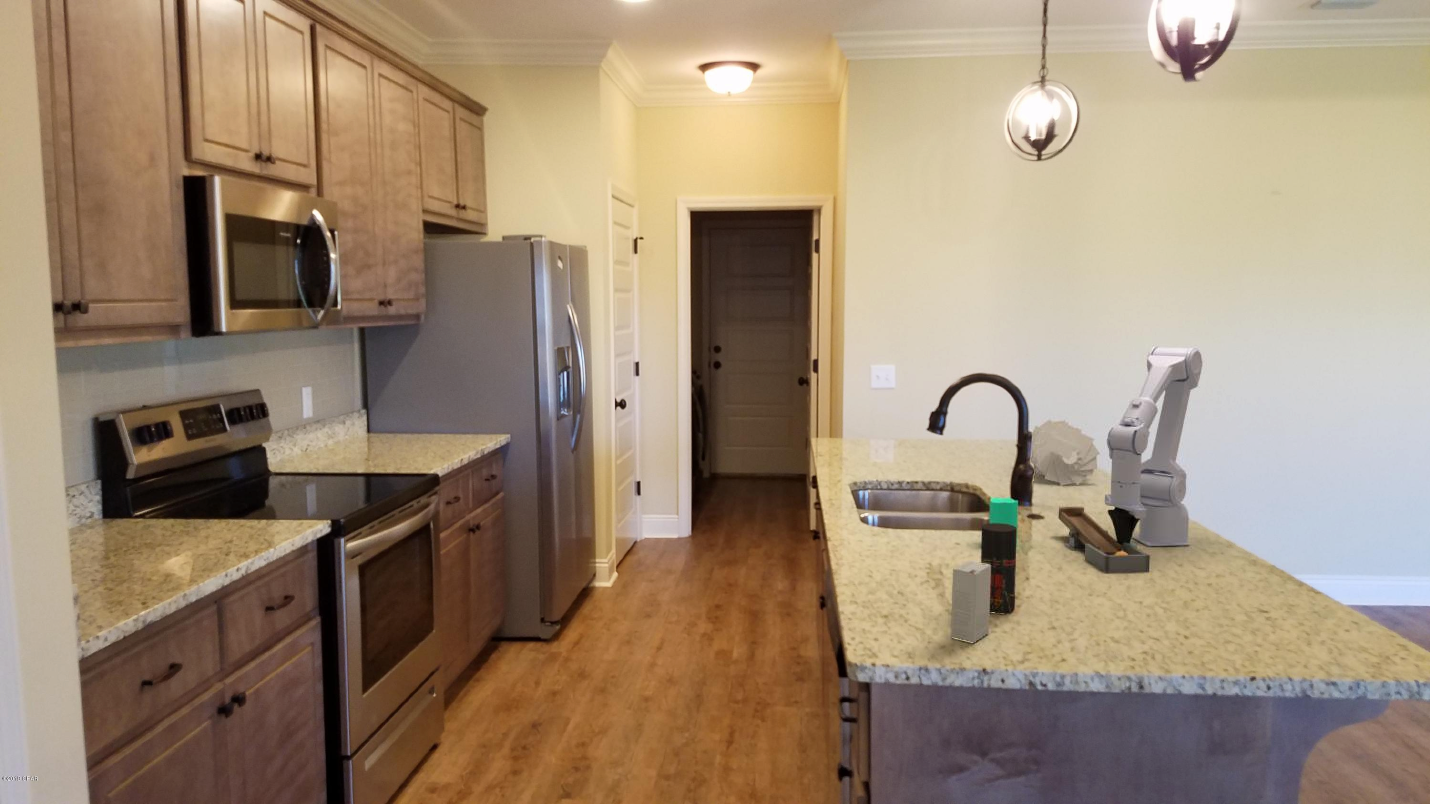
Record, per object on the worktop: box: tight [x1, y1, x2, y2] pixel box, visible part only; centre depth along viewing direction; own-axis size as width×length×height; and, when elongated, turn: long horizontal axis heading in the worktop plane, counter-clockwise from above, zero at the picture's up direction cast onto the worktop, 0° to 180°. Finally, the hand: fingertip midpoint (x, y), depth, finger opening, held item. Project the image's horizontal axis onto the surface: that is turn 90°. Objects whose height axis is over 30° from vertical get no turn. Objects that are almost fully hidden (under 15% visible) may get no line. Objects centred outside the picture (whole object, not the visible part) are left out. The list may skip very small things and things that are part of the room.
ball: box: [1115, 550, 1128, 555], centre depth 184 cm, size 3×3×3 cm
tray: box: [1084, 543, 1151, 573], centre depth 186 cm, size 9×10×3 cm
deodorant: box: [980, 522, 1018, 614], centre depth 161 cm, size 6×6×15 cm
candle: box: [989, 497, 1019, 548], centre depth 202 cm, size 6×6×12 cm
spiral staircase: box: [1030, 419, 1101, 487], centre depth 271 cm, size 18×18×25 cm
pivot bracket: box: [1064, 529, 1109, 552], centre depth 200 cm, size 9×4×4 cm, turn 92°
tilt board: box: [1057, 506, 1138, 555], centre depth 199 cm, size 10×20×3 cm, turn 2°
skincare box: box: [950, 560, 991, 644], centre depth 148 cm, size 6×4×12 cm
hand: (1123, 543), depth 194 cm, fingers closed
